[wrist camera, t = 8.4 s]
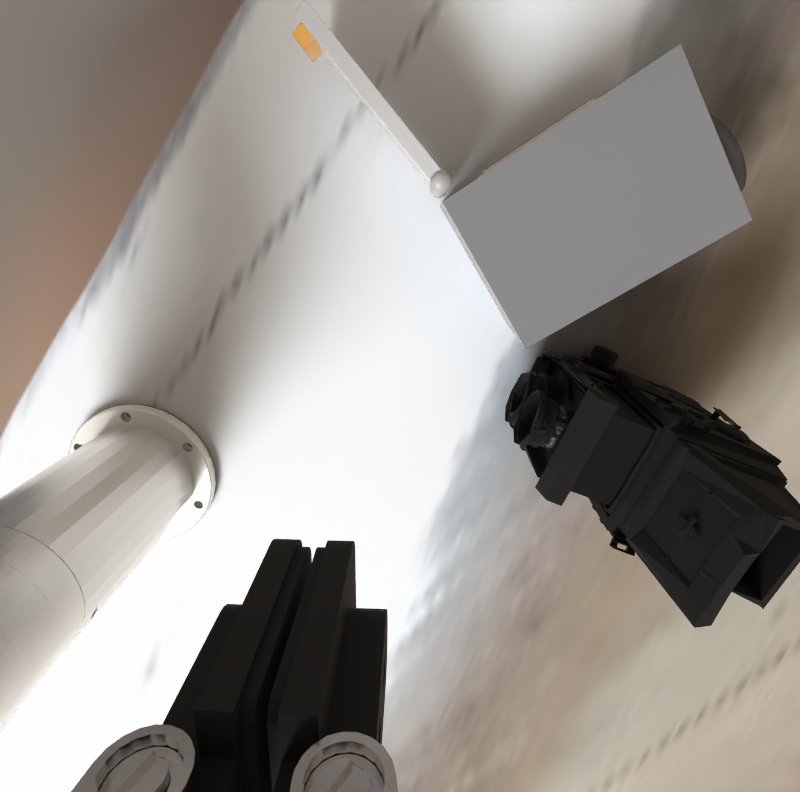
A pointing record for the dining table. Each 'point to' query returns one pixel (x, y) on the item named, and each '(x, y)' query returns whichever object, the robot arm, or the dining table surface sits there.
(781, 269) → the dining table surface
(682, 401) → the camera
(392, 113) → the side door
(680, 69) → the grey device box
